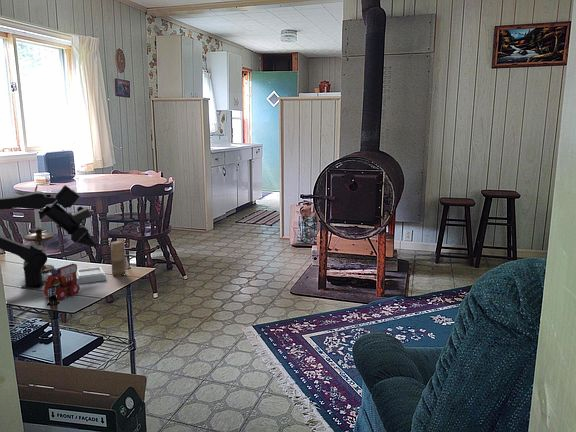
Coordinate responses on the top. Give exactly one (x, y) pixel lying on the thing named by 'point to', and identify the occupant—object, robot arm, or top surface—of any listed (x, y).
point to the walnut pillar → (118, 258)
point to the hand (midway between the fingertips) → (94, 243)
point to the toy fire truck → (63, 281)
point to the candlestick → (40, 237)
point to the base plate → (90, 275)
